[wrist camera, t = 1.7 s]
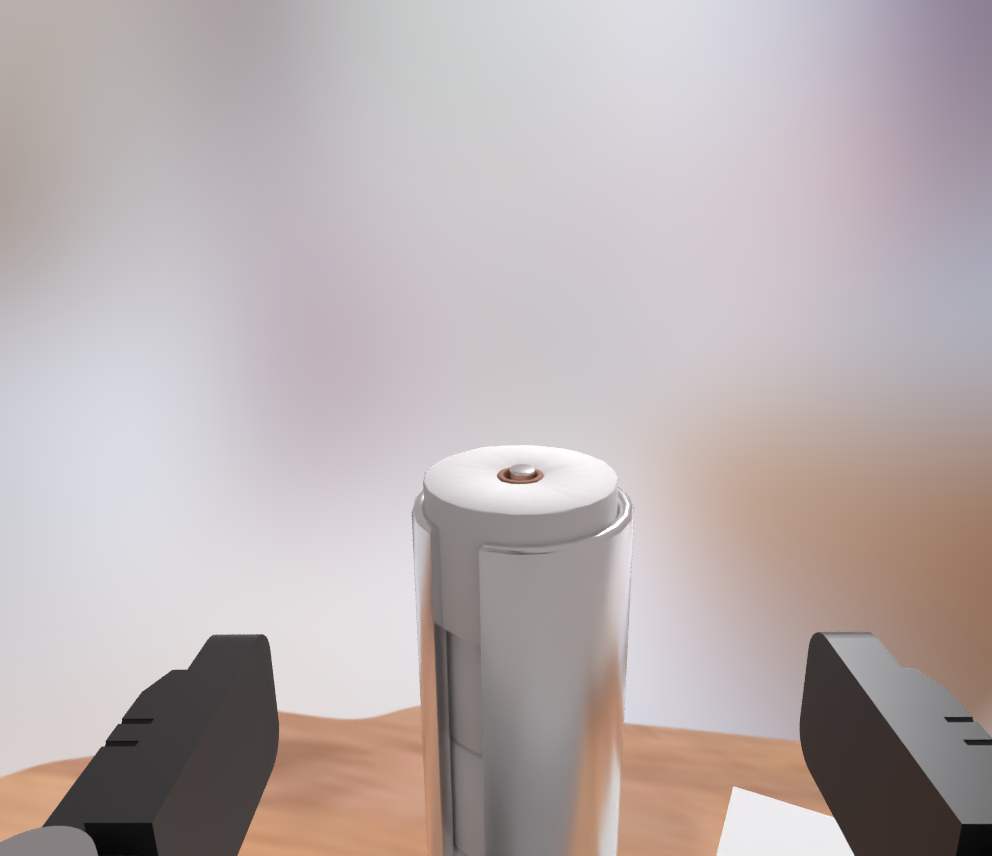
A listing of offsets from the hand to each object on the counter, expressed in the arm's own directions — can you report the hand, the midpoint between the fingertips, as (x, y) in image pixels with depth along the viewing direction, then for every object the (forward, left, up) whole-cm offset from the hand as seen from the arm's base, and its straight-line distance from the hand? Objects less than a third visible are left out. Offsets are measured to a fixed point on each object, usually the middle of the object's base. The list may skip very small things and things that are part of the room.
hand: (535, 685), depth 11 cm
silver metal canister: (-5, +10, -26) cm, 28 cm away
